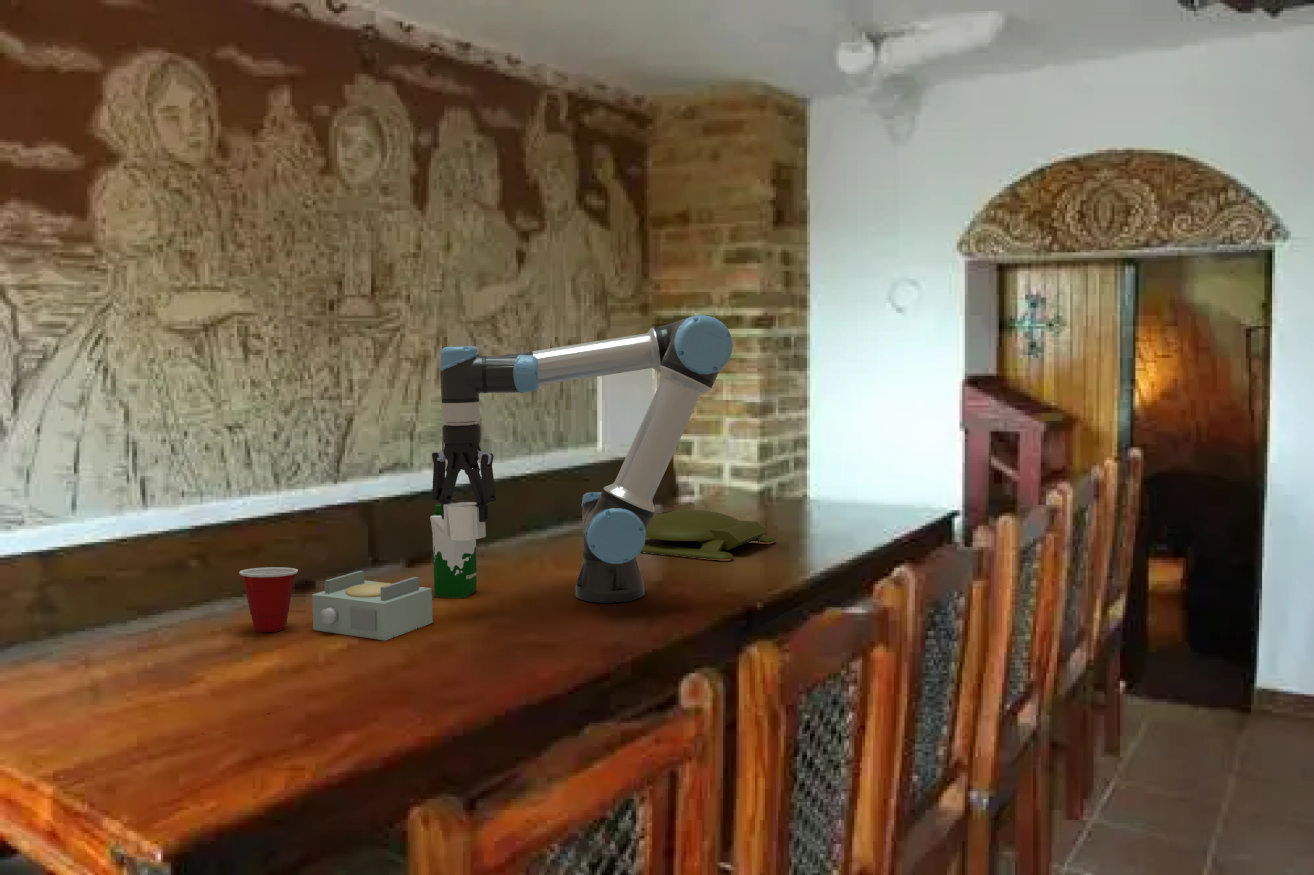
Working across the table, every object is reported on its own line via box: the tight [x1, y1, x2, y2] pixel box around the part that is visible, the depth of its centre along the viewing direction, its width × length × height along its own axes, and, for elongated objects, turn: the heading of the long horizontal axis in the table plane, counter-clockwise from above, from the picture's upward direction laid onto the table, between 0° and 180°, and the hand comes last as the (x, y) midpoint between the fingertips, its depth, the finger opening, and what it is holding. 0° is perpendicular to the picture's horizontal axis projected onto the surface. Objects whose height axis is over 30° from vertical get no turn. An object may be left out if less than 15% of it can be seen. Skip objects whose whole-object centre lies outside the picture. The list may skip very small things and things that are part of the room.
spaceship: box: [641, 509, 776, 560], centre depth 289 cm, size 35×31×10 cm
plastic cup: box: [238, 566, 299, 633], centre depth 208 cm, size 11×11×12 cm
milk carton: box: [429, 503, 478, 599], centre depth 236 cm, size 9×9×20 cm
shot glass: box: [447, 501, 477, 541], centre depth 215 cm, size 7×7×7 cm
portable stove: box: [311, 570, 433, 641], centre depth 209 cm, size 18×16×10 cm
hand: (465, 536), depth 215 cm, fingers closed on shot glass, 7 cm apart
